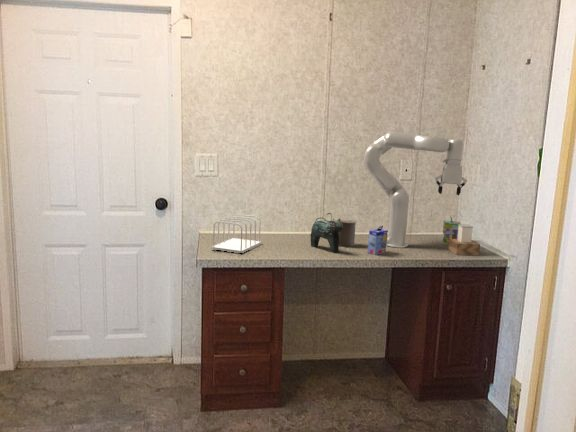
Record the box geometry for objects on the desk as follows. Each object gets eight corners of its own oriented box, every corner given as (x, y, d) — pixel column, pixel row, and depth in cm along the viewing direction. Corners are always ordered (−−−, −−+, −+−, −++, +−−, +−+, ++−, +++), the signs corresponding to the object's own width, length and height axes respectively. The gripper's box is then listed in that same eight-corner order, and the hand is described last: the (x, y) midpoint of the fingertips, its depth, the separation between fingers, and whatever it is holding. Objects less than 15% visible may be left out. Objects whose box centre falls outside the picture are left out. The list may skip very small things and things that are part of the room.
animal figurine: (342, 252, 262) (344, 214, 258) (333, 254, 258) (335, 215, 254) (315, 245, 277) (317, 209, 273) (307, 246, 272) (308, 210, 269)
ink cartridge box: (375, 255, 258) (377, 227, 256) (367, 253, 262) (368, 226, 259) (386, 252, 265) (388, 225, 263) (377, 250, 269) (379, 223, 266)
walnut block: (456, 254, 264) (457, 243, 263) (448, 249, 276) (449, 238, 275) (478, 255, 265) (480, 244, 264) (469, 249, 277) (470, 239, 276)
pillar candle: (337, 247, 274) (339, 219, 271) (335, 242, 283) (337, 216, 281) (355, 247, 274) (357, 220, 271) (352, 243, 284) (354, 217, 281)
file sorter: (241, 254, 252) (242, 224, 249) (211, 250, 257) (211, 220, 255) (261, 244, 275) (262, 216, 272) (232, 241, 281) (233, 213, 278)
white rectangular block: (461, 242, 267) (462, 226, 265) (457, 240, 272) (458, 224, 271) (471, 242, 267) (472, 226, 265) (467, 240, 272) (468, 224, 271)
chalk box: (459, 243, 292) (462, 218, 289) (443, 242, 294) (445, 217, 291) (457, 240, 301) (460, 215, 298) (441, 239, 303) (443, 214, 300)
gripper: (439, 161, 265) (435, 194, 268) (471, 164, 266) (467, 196, 269) (435, 160, 273) (431, 192, 276) (466, 163, 273) (462, 194, 276)
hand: (448, 194), depth 272 cm, fingers open, 9 cm apart
